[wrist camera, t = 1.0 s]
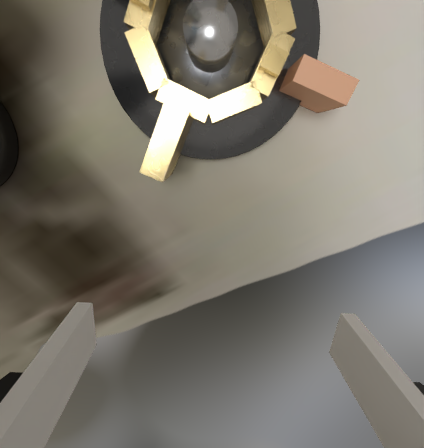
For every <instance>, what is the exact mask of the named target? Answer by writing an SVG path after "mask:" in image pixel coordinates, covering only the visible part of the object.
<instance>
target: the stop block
mask: <svg viewBox="0 0 424 448" xmlns="http://www.w3.org/2000/svg"><path fill="white" fill-rule="evenodd" d="M358 82H359V80H358V79H356V78H354V77H352V76H350V75H348V74H346V73H343V72H341V71H339V70H337V69H335V68H333V67H331V66H329V65H327V64H325V63H322V62H320V61H318V60H316V59H314V58H312V57H310V56H308V55H306V54H304V55H303V56H302V57H300V58H299V59H298V60H297V61H296V62H295V63H294V64H293V65H292V66H291V67H290V68H289V69H288V71H287V73H286V75H285V78H284V80H283V83H282V85H281V87H280V90H279V91H280V92H283V93H285V94H287V95H289V96H292V97H294V98H296V99H298V100H301V103H300V105H301V106H303V107H305V108H307V109H310V110H312V111H314V112H316V113H320V112H323V111H327V110H331V109H335V108H339V107H343V106H346V105H347V103H348V101H349V100H350V98H351V96H352V94H353V92H354V90H355V88H356V86H357V84H358Z"/></svg>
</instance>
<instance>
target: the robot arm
mask: <svg viewBox="0 0 424 448" xmlns="http://www.w3.org/2000/svg"><path fill="white" fill-rule="evenodd" d="M17 155H18V143H17V136H16V132H15V129H14V126H13V123H12V121H11V119H10V116H9V115H8V113H7V111H6V109H5V108H4V106H3V105H2V103H1V102H0V185H1V184H3V183H4V182H5V181H6V180H7V179H8V178H9V176H10V175H11V173H12V172H13V170H14V167H15V165H16V161H17ZM96 345H97V343H96V333H95V323H94V313H93V304H92V303H83V302H77V303H76V304H75V306H74V307H73V308H72V310H71V311H70V312H69V313H68V315H67V316H66V317H65V319H64V320H63V321H62V323H61V324H60V325H59V327H58V328H57V329H56V330H55V332H54V333H53V334H52V336H51V337H50V338H49V340H48V341H47V342H46V344H45V345H44V346H43V347H42V349H41V350H40V351H39V353H38V354H37V355H36V357H35V358H34V359H33V361H32V362H31V363H30V365H29V366H28V367H27V368H26V370H25V371H24V372H23V373H16V372H10V373H8V374H7V375H6V376H5V377H3V378H2V379H1V380H0V448H44V446H45V444H46V443H47V441H48V439H49V437H50V435H51V433H52V431H53V429H54V427H55V425H56V423H57V421H58V419H59V417H60V415H61V413H62V411H63V409H64V407H65V406H66V404H67V402H68V400H69V398H70V396H71V394H72V392H73V390H74V388H75V386H76V384H77V382H78V380H79V378H80V376H81V374H82V373H83V371H84V369H85V367H86V365H87V363H88V361H89V359H90V357H91V355H92V353H93V351H94V349H95V347H96ZM329 353H330V355H331V356H332V358H333V360H334V361H335V363H336V365H337V367H338V369H339V370H340V372H341V374H342V376H343V377H344V379H345V381H346V382H347V384H348V386H349V388H350V389H351V391H352V393H353V394H354V396H355V398H356V400H357V401H358V403H359V405H360V407H361V408H362V410H363V412H364V414H365V415H366V417H367V419H368V420H369V422H370V424H371V426H372V427H373V429H374V431H375V433H376V434H377V436H378V438H379V440H380V441H381V443H382V445H383V446H384V448H424V385H422V384H421V383H420V382H412V381H411V380H410V379H409V377H408V376H407V375H406V374H405V373H404V372H403V370H402V369H401V368H400V367H399V366H398V364H397V363H396V362H395V361H394V360H393V358H392V357H391V356H390V355H389V354H388V353H387V351H386V350H385V349H384V348H383V347H382V346H381V344H380V343H379V342H378V341H377V340H376V338H375V337H374V336H373V335H372V334H371V332H370V331H369V330H368V329H367V328H366V327H365V325H364V324H363V323H362V322H361V321H360V320H359V318H358V317H357V316H356V315H355V314H347V313H341V315H340V318H339V321H338V325H337V328H336V331H335V335H334V338H333V341H332V345H331V348H330V351H329Z"/></svg>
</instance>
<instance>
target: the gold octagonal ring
mask: <svg viewBox="0 0 424 448" xmlns="http://www.w3.org/2000/svg"><path fill="white" fill-rule="evenodd" d="M170 1H171V0H130V1H129V4H128V8H127V12H126V15H125V19H124V23H125V24H126V26H127V27H128V29H129V31H126V32H124V33H125V35H126V38H127V40H128V43H129V45H130V47H131V50H132V52H133V55H134V57H135V59H136V62H137V64H138V67H139V69H140V71H141V74H142V76H143V79H144V81H145V83H146V86H147V88H148V91H149V93H150V94H152V95H153V96H154V97H155V98H156V100H157V101H158V102H160V103H161V104H162V105H163V106H162V109H161V112H160V115H159V118H158V121H157V124H156V127H155V129H154V132H153V135H152V138H151V141H150V144H149V147H148V149H147V152H146V155H145V158H144V161H143V164H142V167H141V169H140V173H142V174H145V175H147V176H149V177H151V178H154V179H156V180H158V181H161V182H163V181H164V180H166V179H167V178H168V177H169V176H170V175H171V174H173V171H174V168H175V166H176V163H177V161H178V158H179V156H180V153H181V151H182V148H183V145H184V143H185V140H186V138H187V135H188V133H189V130H190V128H191V125H192V122H193V120H195V121H197V122H200V123H202V124H204V125H206V122H207V120H208V117H209V118H210V121H211V124H212V125H215V124H217V123H219V122H222V121H224V120H227V119H229V118H232V117H234V116H236V115H239V114H241V113H244V112H246V111H249V110H251V109H253V108H256V107H257V106H258V105H260V104H261V103H262V101H263V100H264V99H266V98H267V97H268V96H269V94H270V92H271V90H272V88H273V86H274V83H275V81H276V79H277V77H278V76H279V74H280V72H281V70H282V68H283V66H284V63H285V61H286V59H287V57H288V55H289V51H290V49H291V47H292V45H293V43H294V41H295V38H293V37H292V36H291V35H292V34H293V32H294V31H295V30H296V28H297V27H296V23H295V19H294V14H293V10H292V6H291V1H290V0H251V2H252V5H253V9H254V13H255V17H256V20H257V24H258V28H259V31H260V35H261V39H262V43H263V46H264V49H263V51H262V53H261V55H260V58H259V60H258V62H257V65H256V67H255V69H254V71H253V74H252V76H251V78H250V81H249V83H247V84H244V85H242V86H240V87H237V88H235V89H233V90H230V91H228V92H226V93H223V94H221V95H218V96H216V97H214V98H211V99H207V98H205V97H203V96H201V95H199V94H197V93H195V92H193V91H191V90H189V89H187V88H185V87H183V86H181V85H179V84H177V83H175V82H173V81H171V80H170V78H169V75H168V72H167V70H166V67H165V65H164V62H163V59H162V57H161V54H160V52H159V49H158V47H157V41H158V38H159V35H160V32H161V29H162V26H163V22H164V19H165V16H166V13H167V10H168V7H169V4H170Z"/></svg>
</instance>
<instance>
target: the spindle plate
mask: <svg viewBox="0 0 424 448" xmlns="http://www.w3.org/2000/svg"><path fill="white" fill-rule="evenodd" d="M129 1H130V0H103V1H102V8H101V16H100V38H101V50H102V55H103V60H104V65H105V69H106V72H107V75H108V78H109V81H110V84H111V86H112V88H113V90H114V93H115V95H116V97H117V99H118V100H119V102H120V104H121V106H122V107H123V109H124V110H125V112H126V113H127V114H128V116H129V117H130V118H131V120H132V121H133V122H134V123H135V124H136V125H137V126H138V127H139V128H140V129H141V130H142V131H143V132H144V133H145V134H146V135H147V136H149V137H150V138H152V135H153V132H154V129H155V127H156V124H157V121H158V118H159V115H160V112H161V109H162V106H163V105H162V104H161V103H160V102H158V101H157V100H156V98H155V97H154V96H153V95H152V94H150V93H149V91H148V88H147V86H146V83H145V81H144V79H143V76H142V74H141V71H140V69H139V67H138V64H137V62H136V59H135V57H134V55H133V52H132V50H131V47H130V45H129V43H128V40H127V38H126V35H125V33H124V32H126V31H129V29H128V27H127V26H126V24H125V23H124V19H125V15H126V12H127V8H128V4H129ZM290 1H291V6H292V10H293V14H294V19H295V23H296V27H297V28H296V30H295V31H294V32H293V34H292V35H291V36H292V37H293V38H295V41H294V43H293V45H292V47H291V49H290V51H289V55H288V57H287V59H286V61H285V63H284V66H283V68H282V70H281V72H280V74H279V76H278V77H277V79H276V81H275V83H274V86H273V88H272V90H271V92H270V94H269V96H268V97H267V98H266V99H264V100H263V101H262V103H261V104H260V105H258V106H257V107H256V108H253V109H251V110H249V111H246V112H244V113H241V114H239V115H236V116H234V117H232V118H229V119H227V120H224V121H222V122H219V123H217V124H215V125H212V124H211V121H210V118H209V117H208V120H207V122H206V125H204V124H202V123H200V122H197V121H195V120H193V122H192V125H191V128H190V130H189V133H188V135H187V138H186V140H185V143H184V145H183V148H182V151H181V153H180V154H182V155H185V156H188V157H194V158H199V159H221V158H228V157H232V156H237V155H240V154H242V153H245V152H248V151H250V150H252V149H254V148H256V147H258V146H260V145H261V144H263V143H264V142H266V141H267V140H268V139H270V138H271V137H272V136H274V135H275V134H276V133H277V132H278V131H279V130H280V129H281V128H282V127H283V126H284V125H285V124H286V123H287V122H288V120H289V119H290V118H291V117H292V115H293V114H294V112H295V111H296V110H297V108H298V107H299V105H300V103H301V100H298V99H296V98H294V97H292V96H289V95H287V94H285V93H283V92H280V91H279V90H280V87H281V85H282V83H283V80H284V78H285V75H286V73H287V71H288V69H289V68H290V67H291V66H292V65H293V64H294V63H295V62H296V61H297V60H298V59H299V58H300V57H302V56H303V55H304V54H306V55H308V56H310V57H312V58H314V59H316V60H317V56H318V50H319V40H320V20H319V8H318V3H317V0H290ZM157 47H158V49H159V52H160V54H161V57H162V59H163V62H164V65H165V67H166V70H167V72H168V75H169V78H170V80H171V81H173V82H175V83H177V84H179V85H181V86H183V87H185V88H187V89H189V90H191V91H193V92H195V93H197V94H199V95H201V96H203V97H205V98H207V99H211V98H214V97H216V96H218V95H221V94H223V93H226V92H228V91H230V90H233V89H235V88H237V87H240V86H242V85H244V84H247V83H249V81H250V78H251V76H252V74H253V71H254V69H255V67H256V65H257V62H258V60H259V58H260V55H261V53H262V51H263V49H264V46H263V43H262V39H261V35H260V31H259V28H258V24H257V20H256V17H255V13H254V9H253V5H252V2H251V0H171V1H170V4H169V7H168V10H167V13H166V16H165V19H164V22H163V26H162V29H161V32H160V35H159V38H158V41H157Z"/></svg>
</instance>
